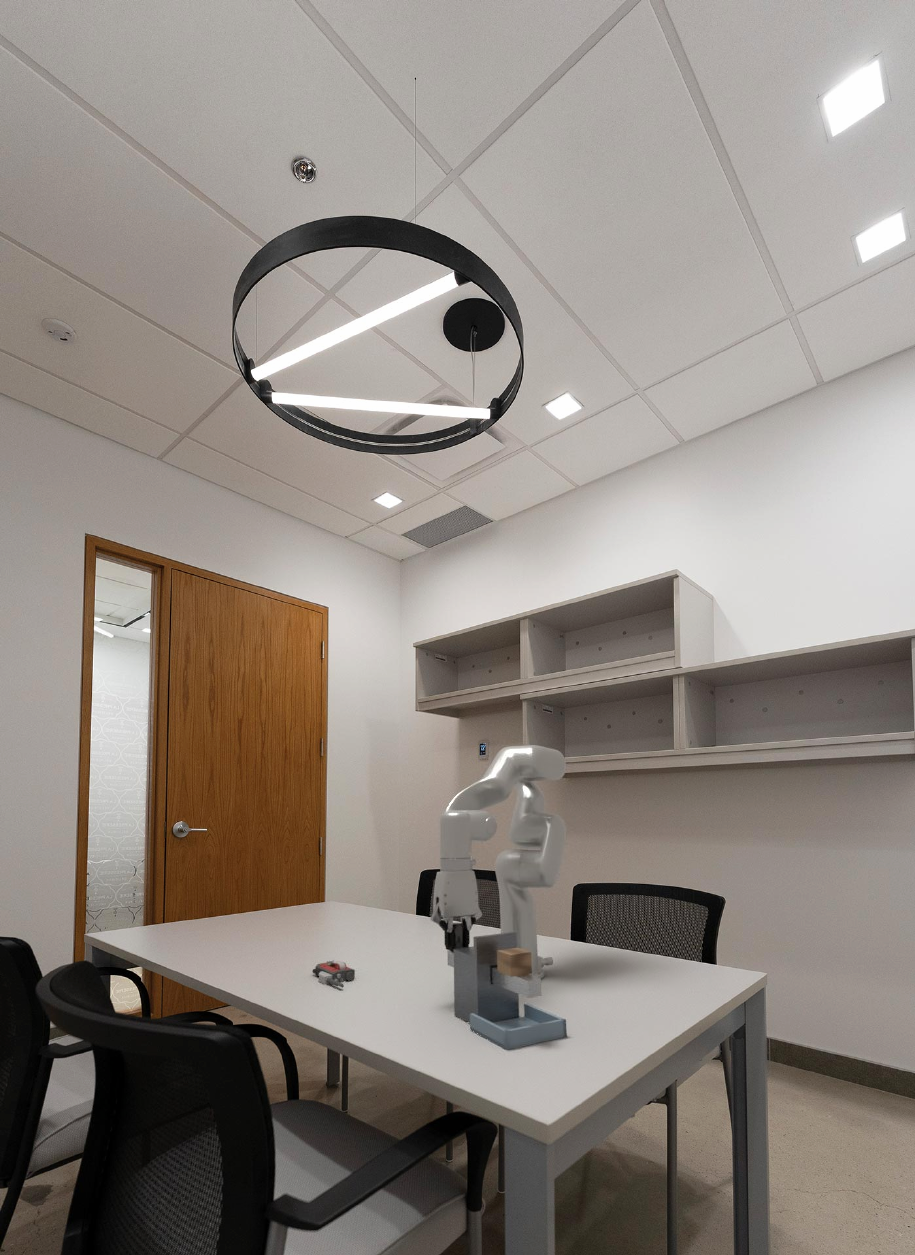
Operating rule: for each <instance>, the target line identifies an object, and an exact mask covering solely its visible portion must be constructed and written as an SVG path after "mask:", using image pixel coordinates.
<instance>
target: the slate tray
mask: <svg viewBox="0 0 915 1255" xmlns="http://www.w3.org/2000/svg"><path fill="white" fill-rule="evenodd" d="M523 1008H524V1009H523V1014H524V1015H523V1016H519V1018H514V1019H509V1020H503V1021H498V1022H493V1023H492V1022H490V1021H488V1020H486V1019H484V1018H482V1017H480V1016H478V1015H476V1014H474V1013H472V1014H470V1024H469V1030H470V1029H471V1030H472V1031H471V1030H470V1031H471V1032H473V1031H474V1032H475V1033H474V1032H473V1033H474V1034H476V1033H478V1034H479V1035H478V1034H477V1035H478V1036H480V1035H481V1036H480V1037H482V1038H484V1039H485V1038H486V1039H485V1040H487V1039H488V1041H489V1040H490V1041H489V1042H491V1043H493V1044H495V1045H497V1046H498V1047H500V1048H502V1049H504V1050H512V1049H516V1048H520V1047H521V1048H522V1047H525V1046H530V1045H533V1044H539V1043H543V1042H548V1041H552V1040H553V1041H554V1040H557V1039H562V1038H563V1039H564V1038H566V1037H567V1036H568V1035H567V1034H568V1033H567V1019H566V1018H563V1017H560V1016H558V1015H556V1014H553V1013H551V1012H549V1011H546V1010H544V1009H542V1008H539V1007H537V1006H535V1005H532V1004H529V1003H524V1004H523Z"/></svg>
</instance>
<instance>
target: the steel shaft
mask: <svg viewBox="0 0 915 1255" xmlns="http://www.w3.org/2000/svg"><path fill="white" fill-rule="evenodd" d="M452 932H454V934H455V949H458V948H464V932H463V923H461V922H453V927H452ZM447 966H449V967H452V968H454V951H449V950H447ZM490 979H491V983H493V984H496V985H498V986H501V987H503V988H505V989H508V990H510V991H513V992H515V993H518V995H520V996H523V997H525V998H528V999H531V998H536V997H542V994H543V993H542V978H541V979H540V978H537V977H534V976H531V975H529V974H526V975H520V976H513V977H510V976H507V975H505V974H502V973H499V972H498V967H497V965H493V966H490Z"/></svg>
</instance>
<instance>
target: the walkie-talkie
mask: <svg viewBox="0 0 915 1255" xmlns="http://www.w3.org/2000/svg"><path fill="white" fill-rule="evenodd" d="M355 972H356V970H355V969H353V968H351V967H349V966H347V963H346V962H343V961H341V960H335V959H333V960H327V961H326V962H321V963H318V964H316V966H315V968H313V969H312V973H313V974H315V977H317V976H319V977H318V983H321V984H323V985H324V984H326V985H330V984H331V985H333V986H335V987H341V988H344V981H346V982H350V980H351V981H355V980H354V979H356V978H355V977H356V976H355ZM347 980H348V981H347Z"/></svg>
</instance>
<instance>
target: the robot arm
mask: <svg viewBox="0 0 915 1255" xmlns="http://www.w3.org/2000/svg"><path fill="white" fill-rule="evenodd" d="M566 771H567V762H566V759H565V757H564V754H563V753H562V752H561V751H560V750H557V749H554V748H551V747H545V746H542V745H537V744H536V745H535V744H528V745H527V744H526V745H513V746H512V745H510V746H509V745H508V746H505V747H503V748H502V749H500V750H499V751H498V752H497V754H496V755H495V757H494V758H493V760H492V762H491V763H490V764H489V766H488V768H487V769H486V772H485V773H484V774H483V776H482V778H481V779H479V780H477V781H475V782H473V783H472V784H471V785H469V786H467V787H466V788H465V789H463V790H461V791H460V792H459V793H457V794H456V795H455V796H454V797H453V798H452V799H451V801H450V802H449V803H448V805H447V807H446V809H445V810H444V812H443V813H441V815H440V817H439V859H440V860H439V863H440V864H439V865H440V866H439V868H440V869H439V870H440V871H437V872H436V876H435V881H434V888H433V899H432V900H433V902H432V903H433V904H432V907H433V908H432V910H433V911H432V914H431V917H430V922H432V923H435V924H436V925H438V926H439V927H440V928H441V929H442V931H443V932H444V946H445V949H446V950H447V951H454V949H455V934H454V932H452V927H453V923H454V918H460V923H463V932H464V948H466V947H470V941H471V940H470V936H471V935H470V931H471V930H472V927H473V926H474V924H475V922H476V921H477V920H478V919H480V918H482V916H483V913H482V910H481V909H480V906H479V891H478V890H479V889H478V882H477V877H476V874H475V871H474V870H473V866H476V865H477V860H476V859H475V858H474V859H473V856H472V853H473V852H472V842H474V843H475V842H478V843H480V842H481V843H482V842H488V841H489V840H490V839H492V838H493V837H494V836H495V834H496V832H497V828H498V826H497V820H496V818H495V816H494V815H493V813H491V812H489V811H487V810H484V809H486V808H490V807H494V806H497V805H499V804H501V803H504V802H505V801H506V800H507V799H508V798H509V797H510V795H511V793H512V792H513V789H515V794H516V801H515V804H514V805H515V806H514V808H513V814H512V817H511V818H512V819H511V821H510V828H509V834H508V837H509V842H510V843H511V844H512V845H513V846H514V847H516V848H517V849H516V848H515V849H506V850H503V851H501V852H500V853H499V854H498V855H497V857H496V859H495V862H494V863H495V864H494V868H495V869H494V870H495V871H494V872H495V876H496V881H497V885H498V886H497V887H498V892H499V894H498V895H499V912H500V913H499V914H500V915H499V916H500V918H499V919H500V933H508V932H516V935H517V948H520V949H523V950H526V951H529V952H531V960H532V974H529V975H531V976H534V977H537V978H540V979H541V980H542V979H544V977H545V970H543V968H544V967H545V966H547V967H548V966H552V965H554V958H553V957H552V956H550V957H549V956H548V957H543V956H539V955H538V952H539V951H538V932H537V930H538V929H537V926H538V925H537V907H536V901H535V899H534V896H533V894H532V893H531V891H530V889H529V888H532V889H533V888H534V889H550V888H554V887H555V885H556V884H557V883H558V881H559V878H560V873H561V869H562V864H563V858H564V854H565V847H566V844H567V843H566V840H567V827H566V823H565V820H564V819H563V817H561V816H560V815H559V814H557V813H552V812H551V813H550V812H546V806H547V800H546V796H545V794H544V793H543V791H542V790H541V789H540V787H539V786H538V784H537V783H536V782H539V781H540V782H543V781H546V782H547V781H558V780H560V779H562V778H563V776H564V775H565V774H566ZM545 812H546V813H545ZM441 917H442V918H441Z"/></svg>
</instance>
